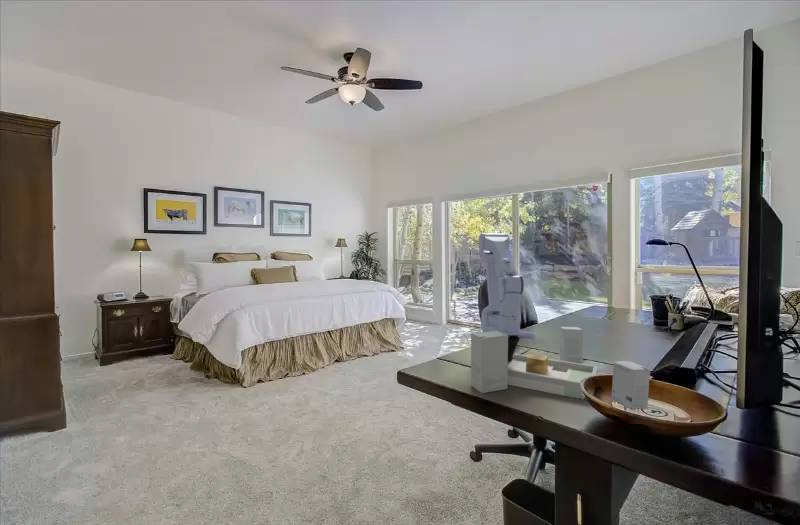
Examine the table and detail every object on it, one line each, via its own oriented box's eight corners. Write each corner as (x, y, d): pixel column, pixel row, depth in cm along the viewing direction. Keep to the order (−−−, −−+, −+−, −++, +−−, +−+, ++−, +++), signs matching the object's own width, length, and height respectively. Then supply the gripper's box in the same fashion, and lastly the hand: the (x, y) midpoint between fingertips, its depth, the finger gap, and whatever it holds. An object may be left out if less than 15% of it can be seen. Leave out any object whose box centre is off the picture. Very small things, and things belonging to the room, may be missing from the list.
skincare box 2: (577, 362, 123) (578, 326, 123) (582, 366, 119) (583, 329, 119) (558, 361, 124) (559, 326, 123) (563, 365, 120) (564, 329, 119)
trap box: (498, 382, 103) (498, 368, 103) (514, 366, 118) (514, 353, 118) (592, 401, 91) (593, 385, 91) (597, 380, 106) (597, 366, 106)
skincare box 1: (495, 382, 103) (496, 329, 103) (508, 390, 98) (509, 334, 97) (469, 386, 100) (470, 331, 100) (481, 394, 95) (482, 336, 94)
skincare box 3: (609, 413, 84) (610, 360, 84) (626, 412, 85) (628, 360, 85) (630, 426, 78) (632, 369, 78) (649, 424, 79) (650, 368, 78)
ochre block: (525, 371, 105) (526, 357, 105) (529, 366, 110) (530, 353, 110) (544, 374, 103) (544, 360, 103) (547, 369, 107) (547, 356, 107)
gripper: (482, 314, 110) (481, 359, 111) (532, 319, 103) (531, 368, 103) (489, 311, 116) (488, 354, 117) (537, 316, 109) (536, 362, 109)
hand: (509, 360), depth 110 cm, fingers closed
